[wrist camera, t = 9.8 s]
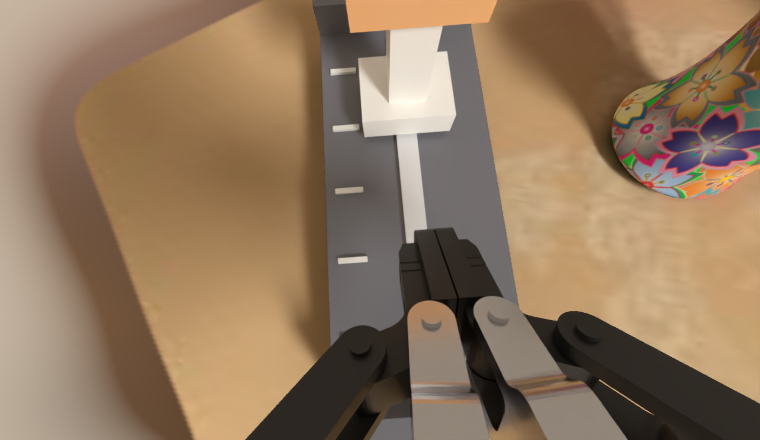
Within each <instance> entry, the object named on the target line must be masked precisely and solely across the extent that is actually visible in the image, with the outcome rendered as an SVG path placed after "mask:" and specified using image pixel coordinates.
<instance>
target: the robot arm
mask: <svg viewBox="0 0 760 440" xmlns="http://www.w3.org/2000/svg"><path fill="white" fill-rule="evenodd" d="M399 278H400V288H401V295H402V303H403V311H404V315H403V317H402V318H401V320H400V321H399V322H398V323H396V324H395V325H393V326H391V327H389V328H386V329H384V330H381V331H379V330H377V329H376V328H374V327H371V326H367V325H359V326H355V327H352V328H350V329H348V330H346V331H345V332H344V333H343V334H342V335H341V336H340V337H339V338H338V339H337V340H336V341H335V342H334V343H333V345H332V346H331V347H330V348H329V349H328V350H327V351H326V352H325V353H324V354H323V355H322V357H321V358H320V359H319V360H318V361H317V362H316V363H315V364H314V365H313V366H312V368H311V369H310V370H309V371H308V372H307V373H306V374H305V375H304V376H303V377H302V378H301V380H300V381H299V382H298V383H297V384H296V385H295V386H294V387H293V388H292V389H291V390H290V392H289V393H288V394H287V395H286V396H285V397H284V398H283V399H282V400H281V401H280V402H279V404H278V405H277V406H276V407H275V408H274V409H273V410H272V411H271V412H270V413H269V414H268V416H267V417H266V418H265V419H264V420H263V421H262V422H261V423H260V424H259V425H258V426H257V428H256V429H255V430H254V431H253V432H252V433H251V434H250V435H249V436H248V437H247V439H246V440H370V439H371V437H372V435H373V434H374V432H375V431H376V429H377V427H378V426H379V424H380V422H381V421H382V419H383V418H384V416H385V414H386V413H387V411H388V409H389V408H390V407H392V406H394V405H396V404H398V403H400V402H402V401H404V400H406V399H408V398H410V420H411V440H760V404H759V403H757V402H756V401H754V400H752V399H750V398H748V397H746V396H744V395H742V394H740V393H739V392H737V391H735V390H733V389H731V388H729V387H727V386H725V385H723V384H722V383H720V382H718V381H716V380H714V379H712V378H710V377H708V376H706V375H705V374H703V373H701V372H699V371H697V370H695V369H693V368H691V367H689V366H688V365H686V364H684V363H682V362H680V361H678V360H676V359H674V358H672V357H670V356H669V355H667V354H665V353H663V352H661V351H659V350H657V349H655V348H653V347H652V346H650V345H648V344H646V343H644V342H642V341H640V340H638V339H636V338H635V337H633V336H631V335H629V334H627V333H625V332H623V331H621V330H619V329H618V328H616V327H614V326H612V325H610V324H608V323H606V322H604V321H602V320H601V319H599V318H597V317H595V316H592V315H590V314H587V313H584V312H578V311H569V312H565V313H563V314H562V315H561V316H560V317H559V318H558V320H557V321H553V320H548V319H543V318H538V317H533V316H529V315H526V314H524V313H522V311H521V310H520V309H519V308H518V307H517V306H516V305H515V304H514V303H512V302H511V301H509V300H507V299H505V298H504V297H503V295H502V293H501V291H500V289H499V288H498V286H497V284H496V282H495V280H494V278H493V276H492V274H491V272H490V271H489V269H488V267H487V266H486V263H485V261H484V259H483V258H482V255H481V253H480V252H479V250H478V248H477V246H475V245H474V244H473V243H472V242H471V241H469V240H468V239H458V237H457V235H456V233H455V230H454V228H453V227H449V228H435V229H422V230H414V243H405V244H402V246H401V248H400V251H399ZM462 346H463V349H464V352H465V358H464V354H463V349H462ZM599 379H600V380H602V381H603V382H605V383H606V384H608V385H609V386H611V387H612V388H614V389H615V390H617V391H618V392H620V393H621V394H623V395H625V396H626V397H628V398H629V399H631V400H632V401H634V402H635V403H637V404H638V405H640V406H641V407H643V408H644V409H646V410H648V411H649V412H651V413H652V414H654V415H652V414H650V413H648V412H646V411H645V410H643V409H641V408H640V407H638V406H637V405H635V404H634V403H632V402H631V401H629V400H628V399H626V398H625V397H623V396H622V395H620V394H619V393H617V392H616V391H614V390H613V389H611V388H609V387H608V386H606V385H605V384H603V383H602V382H600V381H599ZM488 433H489V434H488ZM489 436H490V439H489Z"/></svg>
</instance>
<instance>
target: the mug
mask: <svg viewBox="0 0 760 440" xmlns="http://www.w3.org/2000/svg"><path fill="white" fill-rule="evenodd" d="M612 141H613V146H614V149H615V151H616V154H617V156H618V158H619V160H620V161H621V163H622V164H623V166H624V167H625V168H626V169H627V171H628V172H629V173H630V174H631V175H632V176H633V177H634V178H635V179H637V180H638V181H639V182H641V183H642V184H643V185H645V186H647V187H648V188H650V189H652V190H654V191H656V192H659V193H661V194H664V195H667V196H671V197H675V198H681V199H700V198H706V197H711V196H714V195H717V194H719V193H721V192H723V191H725V190H726V189H728V188H730V187H731V186H732V185H733V184H734V183H736V182H737V181H738V180H739V179H741V178H742V177H744V176H745V175H747V174H749V173H751V172H753V171H755V170H757V169H759V168H760V11H759V12H758V13H757V14H756V15H755V16H754V17H753V18H752V19H751V20H750V21H749V22H747V23H746V24H745V25H744V26H743V27H742V28H741V29H740V30H739V31H738V32H737V33H735V34H734V35H733V36H732V37H731V38H730V39H728V40H727V41H726V42H725V43H724V44H722V45H721V46H720V47H719V48H717V49H716V50H715V51H713V52H712V53H711V54H709V55H708V56H707V57H705V58H704V59H702V60H701V61H699V62H698V63H696V64H695V65H693V66H691V67H690V68H688V69H686V70H685V71H683V72H681V73H679V74H677V75H675V76H673V77H671V78H669V79H666V80H663V81H660V82H657V83H652V84H649V85H646V86H643V87H641V88H639V89H637V90H635V91H634V92H632V93H631V94H629V95H628V96H627V97H626V98H625V99H624V100H623V101H622V103H621V104H620V105H619V107H618V108H617V110H616V112H615V115H614V118H613V122H612Z"/></svg>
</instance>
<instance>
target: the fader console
mask: <svg viewBox="0 0 760 440" xmlns="http://www.w3.org/2000/svg"><path fill="white" fill-rule="evenodd" d="M313 9H314V13H315V16H316V20H317V24H318V28H319V31H320V35H321V65H322V97H323V128H324V159H325V190H326V221H327V252H328V284H329V315H330V346H332V345H333V343H334V342H335V341H336V340H337V339H338V338H339V337H340V336H341V335H342V334H343V333H344V332H345V331H346V330H348V329H350V328H352V327H355V326H359V325H367V326H371V327H374V328H376V329H377V330H379V331H381V330H384V329H386V328H389V327H391V326H393V325H395V324H396V323H398V322H399V321H400V320H401V318H402V317H403V315H404V311H403V303H402V295H401V288H400V278H399V251H400V248H401V246H402V244H405V243H414V230H422V229H435V228H449V227H453V228H454V230H455V233H456V235H457V237H458V239H468V240H469V241H471V242H472V243H473V244H474V245H475V246H477V248H478V250H479V252H480V253H481V255H482V258H483V259H484V261H485V263H486V266H487V267H488V269H489V271H490V272H491V274H492V276H493V278H494V280H495V282H496V284H497V286H498V288H499V289H500V291H501V293H502V295H503V297H504V298H505V299H507V300H509V301H511V302H512V303H514V304H515V305H516V306H517V307H518V308H519V305H518V299H517V293H516V287H515V282H514V276H513V270H512V264H511V258H510V252H509V246H508V240H507V235H506V229H505V223H504V217H503V211H502V205H501V199H500V194H499V188H498V182H497V176H496V170H495V164H494V158H493V152H492V147H491V141H490V135H489V129H488V123H487V117H486V111H485V106H484V100H483V94H482V88H481V82H480V76H479V70H478V64H477V59H476V53H475V47H474V41H473V35H472V29H471V24H459V25H446V26H443V27H442V32H441V36H440V41H439V45H438V49H437V52H444V51H447V55H448V62H449V68H450V75H451V82H452V89H453V96H454V103H455V110H456V117H455V119H454V121H453V124H452V126H451V129H450V131H440V132H427V133H414V134H401V135H387V136H374V137H364V130H363V123H362V109H361V93H360V78H359V63H358V58H366V57H379V56H386V30H382V31H369V32H356V33H350V28H349V21H348V14H347V7H346V0H313ZM462 349H463V346H462ZM463 354H464V358H465V352H464V349H463ZM488 434H489V433H488ZM489 439H490V436H489ZM370 440H411V420H410V398H408V399H406V400H404V401H402V402H400V403H398V404H396V405H394V406H392V407H390V408H389V409H388V411H387V413H386V414H385V416H384V418H383V419H382V421H381V422H380V424H379V426H378V427H377V429H376V431H375V432H374V434H373V435H372V437H371V439H370Z"/></svg>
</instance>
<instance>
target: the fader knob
mask: <svg viewBox="0 0 760 440" xmlns="http://www.w3.org/2000/svg"><path fill="white" fill-rule="evenodd" d="M496 3H497V0H346V7H347V14H348V21H349V28H350V33H356V32H369V31H382V30H386V56H379V57H366V58H358V63H359V78H360V93H361V109H362V123H363V130H364V137H374V136H387V135H401V134H414V133H427V132H440V131H450V129H451V126H452V124H453V121H454V119H455V117H456V110H455V103H454V96H453V89H452V82H451V75H450V68H449V62H448V55H447V51H444V52H437V49H438V45H439V41H440V36H441V32H442V27H443V26H446V25H459V24H472V23H485V22H489V20H490V18H491V15H492V13H493V10H494V8H495V5H496Z"/></svg>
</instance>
